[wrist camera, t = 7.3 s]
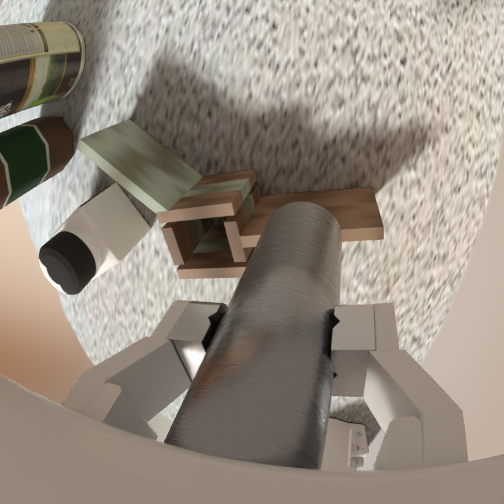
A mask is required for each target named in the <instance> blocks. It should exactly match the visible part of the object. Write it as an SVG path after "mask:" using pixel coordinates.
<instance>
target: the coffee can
mask: <svg viewBox="0 0 504 504" xmlns="http://www.w3.org/2000/svg"><path fill="white" fill-rule="evenodd" d="M85 57H86V49H85V43H84V39H83V36H82V34H81V32H80V30H79V29H78V28H77V27H76V26H75V25H74V24H72V23H70V22H67V21H58V22H36V23H21V24H11V25H2V26H0V119H1V118H4V117H6V116H9V115H12V114H14V113H17V112H20V111H23V110H26V109H29V108H32V107H35V106H38V105H41V104H45V103H48V102H51V101H58V100H61V99H63V98H65V97H66V96H68V95H69V94H70V93H71V92H72V91H73V90H74V88H75V87H76V85H77V84H78V82H79V80H80V78H81V75H82V73H83V69H84V65H85Z"/></svg>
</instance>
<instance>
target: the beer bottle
mask: <svg viewBox="0 0 504 504" xmlns="http://www.w3.org/2000/svg"><path fill="white" fill-rule="evenodd" d="M72 157H73V134H72V132H71V131H70V129H69V128H68V127H67V125H66V124H65V122H64V121H63V119H62V118H61V117H48V116H44V117H41V118H37V119H34V120H31V121H28V122H26V123H23V124H21V125H18V126H16V127H13V128H11V129H8V130H6V131H4V132H1V133H0V209H2V208H4V207H5V206H7V205H8V204H10V203H11V202H13V201H14V200H16V199H17V198H19V197H20V196H22V195H23V194H25V193H26V192H28V191H30V190H31V189H33V188H34V187H36V186H38V185H39V184H41V183H43V182H44V181H46V180H48V179H49V178H51V177H53V176H54V175H56V174H57V173H59V172H60V171H62V170H63V169H64V167H65V166H66V165H67V163H68V162H69V161H70V159H71V158H72Z"/></svg>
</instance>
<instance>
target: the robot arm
mask: <svg viewBox="0 0 504 504" xmlns="http://www.w3.org/2000/svg"><path fill="white" fill-rule="evenodd" d="M226 309H227V305H226V304H224V303H214V302H199V301H182V300H177V301H175V302H173V303H172V305H171V306H170V308H169V309H168V311H167V312H166V314H165V315H164V317H163V318H162V320H161V321H160V323H159V324H158V326H157V327H156V329H155V330H154V332H153V333H152V335H151V336H150V337H144V338H143V339H141V340H139V341H137V342H136V343H134V344H132V345H131V346H129V347H127V348H125V349H124V350H122V351H120V352H119V353H117V354H115V355H113V356H112V357H110V358H108V359H107V360H105V361H103V362H101V363H100V364H98V365H96V366H94V367H93V368H91V369H89V370H87V371H86V372H84V373H82V375H81V376H80V378H79V379H78V380H77V382H76V383H75V385H74V386H73V388H72V389H71V390H70V392H69V393H68V395H67V396H66V398H65V399H64V401H63V402H62V403H61V405H60V404H58V403H56V402H54V401H52V400H49V399H47V398H45V397H43V396H41V395H39V394H37V393H35V392H34V391H32V390H30V389H28V388H26V387H24V386H22V385H20V384H18V383H17V382H15V381H13V380H11V379H10V378H8V377H6V376H4V375H3V374H1V373H0V504H504V454H503V455H499V456H494V457H490V458H485V459H481V460H475V461H470V462H468V455H467V444H466V435H465V427H464V419H463V412H462V410H461V409H460V408H459V407H458V405H457V404H456V403H455V402H454V401H453V400H452V399H451V398H450V397H449V396H448V395H447V394H446V393H445V391H443V389H442V388H441V387H440V386H439V385H438V384H437V383H436V382H435V381H434V380H433V379H432V378H431V377H430V376H429V375H428V374H427V372H426V371H425V370H424V369H423V368H422V367H421V366H420V365H419V364H418V363H417V362H416V361H415V360H414V359H413V358H412V357H411V356H410V355H409V354H408V353H407V352H406V351H405V350H399V345H398V336H397V328H396V320H395V312H394V305H393V304H392V303H382V304H366V305H335V311H334V328H333V334H332V346H331V362H332V364H333V369H334V379H333V388H332V396H348V397H363V399H364V401H365V402H366V404H367V406H368V407H369V409H370V410H371V412H372V414H373V415H374V417H375V419H376V420H377V422H378V424H379V425H380V427H381V429H382V430H383V432H384V433H385V437H384V440H383V443H382V446H381V448H380V450H379V453H378V456H377V458H376V461H375V463H374V467H373V471H356V470H357V467H363V458H364V457H366V456H368V452H369V450H368V443H367V436H366V429H365V426H364V425H361V424H353V423H347V422H343V421H340V420H337V419H332V418H329V420H328V428H327V434H326V441H325V448H324V454H323V460H322V466H321V470H319V469H305V468H293V467H284V466H275V465H267V464H260V463H253V462H247V461H240V460H233V459H227V458H221V457H216V456H211V455H207V454H203V453H199V452H195V451H191V450H188V449H184V448H180V447H177V446H173V445H169V444H166V443H162V442H159V441H156V439H157V437H158V436H157V434H156V432H155V431H154V430H153V428H152V427H151V426H150V425H149V424H148V421H149V420H150V419H152V418H153V417H154V416H155V415H157V414H158V413H159V412H160V411H162V410H163V409H164V408H165V407H166V406H168V405H169V404H170V403H171V402H172V401H174V400H175V399H176V398H177V397H178V396H180V395H181V394H182V393H183V392H184V391H186V390H187V389H188V388H189V387H190V385H191V383H192V381H193V379H194V377H195V375H196V373H197V371H198V368H199V366H200V364H201V362H202V360H203V358H204V356H205V354H206V351H207V349H208V347H209V345H210V343H211V341H212V339H213V336H214V334H215V332H216V330H217V328H218V326H219V324H220V322H221V319H222V317H223V315H224V313H225V311H226Z"/></svg>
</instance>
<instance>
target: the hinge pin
mask: <svg viewBox="0 0 504 504" xmlns="http://www.w3.org/2000/svg"><path fill="white" fill-rule="evenodd" d="M341 253H342V234H341V229H340V226H339V224H338V222H337V220H336V219H335V217H334V216H333V215H332V214H331V213H330V212H329V211H328V210H326V209H325V208H323V207H321V206H319V205H317V204H314V203H310V202H303V201H299V202H292V203H288V204H285V205H283V206H281V207H280V208H278V209H277V210H276V211H274V212H273V214H272V215H271V216H270V218H269V219H268V221H267V223H266V226H265V228H264V230H263V232H262V234H261V236H260V238H259V240H258V243H257V245H256V247H255V249H254V251H253V253H252V255H251V258H250V260H249V262H248V264H247V266H246V268H245V270H244V273H243V275H242V277H241V279H240V281H239V283H238V285H237V287H236V290H235V292H234V294H233V296H232V298H231V300H230V302H229V304H228V307H227V309H226V311H225V313H224V315H223V317H222V319H221V322H220V324H219V326H218V328H217V330H216V332H215V334H214V336H213V339H212V341H211V343H210V345H209V347H208V349H207V351H206V354H205V356H204V358H203V360H202V362H201V364H200V366H199V368H198V371H197V373H196V375H195V377H194V379H193V381H192V383H191V385H190V388H189V390H188V392H187V394H186V396H185V398H184V400H183V402H182V405H181V407H180V409H179V411H178V413H177V415H176V417H175V420H174V422H173V424H172V426H171V428H170V430H169V432H168V434H167V437H166V439H165V441H164V443H166V444H169V445H173V446H177V447H180V448H184V449H188V450H191V451H195V452H199V453H203V454H207V455H211V456H216V457H221V458H227V459H233V460H240V461H247V462H253V463H260V464H267V465H275V466H284V467H293V468H305V469H319V470H321V466H322V460H323V454H324V448H325V441H326V434H327V428H328V420H329V413H330V405H331V396H332V388H333V379H334V369H333V364H332V362H331V346H332V334H333V328H334V311H335V305H339V304H340V283H341Z"/></svg>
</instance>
